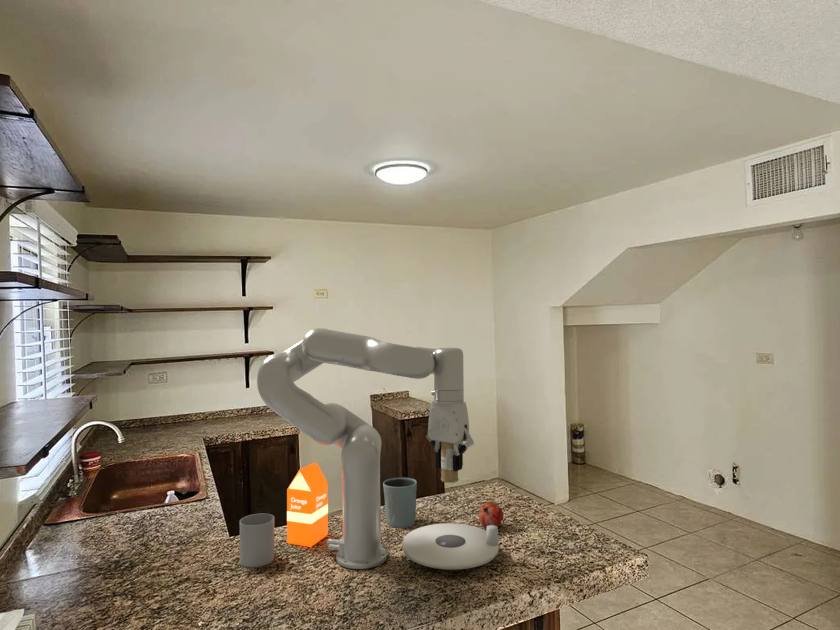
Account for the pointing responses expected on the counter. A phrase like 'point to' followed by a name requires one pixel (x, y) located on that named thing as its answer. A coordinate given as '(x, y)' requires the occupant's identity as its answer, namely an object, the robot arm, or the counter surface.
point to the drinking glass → (400, 502)
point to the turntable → (451, 545)
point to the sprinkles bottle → (448, 463)
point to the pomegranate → (490, 514)
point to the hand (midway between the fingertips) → (449, 467)
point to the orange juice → (307, 507)
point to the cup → (256, 540)
